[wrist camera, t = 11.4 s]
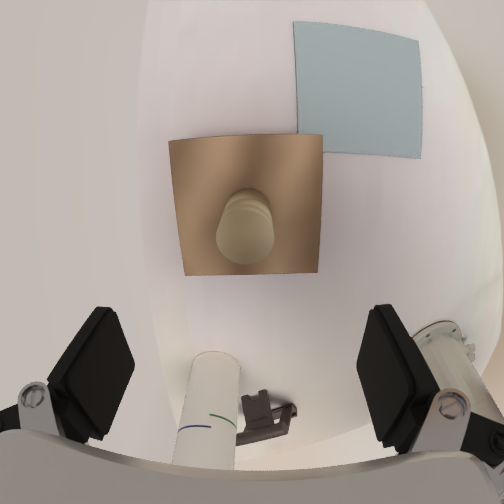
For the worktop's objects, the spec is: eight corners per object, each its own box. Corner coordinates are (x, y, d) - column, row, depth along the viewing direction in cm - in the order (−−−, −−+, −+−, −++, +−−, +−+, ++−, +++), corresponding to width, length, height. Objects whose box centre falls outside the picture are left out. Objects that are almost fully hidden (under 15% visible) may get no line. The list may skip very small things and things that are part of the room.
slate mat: (416, 41, 21) (418, 41, 21) (418, 158, 27) (420, 158, 27) (293, 22, 22) (293, 20, 21) (297, 150, 28) (298, 151, 27)
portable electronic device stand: (253, 419, 48) (252, 457, 40) (229, 399, 45) (226, 440, 37) (296, 406, 46) (300, 446, 38) (276, 384, 43) (278, 428, 35)
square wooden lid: (320, 134, 21) (345, 140, 15) (316, 268, 27) (331, 312, 20) (171, 140, 22) (139, 149, 16) (186, 271, 27) (168, 315, 21)
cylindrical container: (190, 349, 39) (153, 516, 17) (239, 352, 39) (228, 526, 17) (195, 380, 43) (169, 526, 20) (240, 383, 42) (232, 534, 20)
